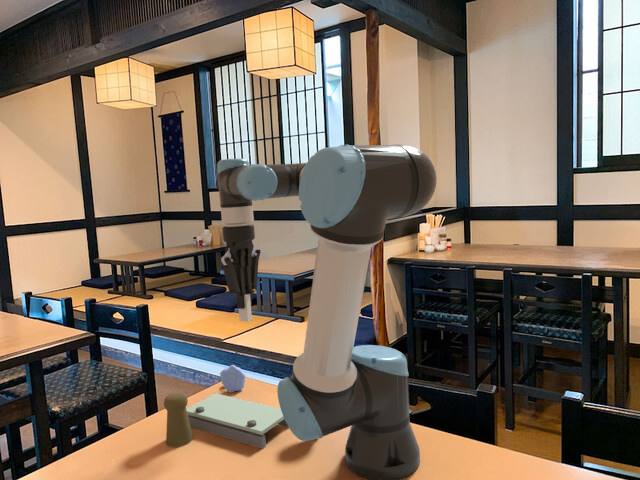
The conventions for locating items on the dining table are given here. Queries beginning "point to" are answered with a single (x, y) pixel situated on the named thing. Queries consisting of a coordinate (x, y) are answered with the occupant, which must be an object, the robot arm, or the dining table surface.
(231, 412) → the lid
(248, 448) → the dining table surface
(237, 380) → the lavender lumpy chunk
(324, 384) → the robot arm
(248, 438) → the gray parallel rails
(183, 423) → the olive pepper mill
